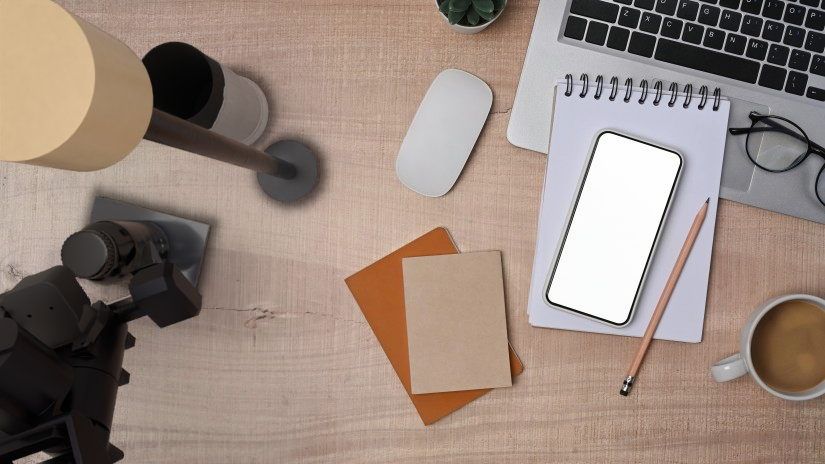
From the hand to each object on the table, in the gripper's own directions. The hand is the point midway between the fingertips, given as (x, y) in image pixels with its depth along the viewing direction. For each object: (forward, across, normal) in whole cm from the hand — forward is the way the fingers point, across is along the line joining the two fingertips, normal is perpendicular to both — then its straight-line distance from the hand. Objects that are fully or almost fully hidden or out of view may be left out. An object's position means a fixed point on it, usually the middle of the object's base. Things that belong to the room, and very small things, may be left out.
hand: (110, 258), depth 63 cm
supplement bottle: (+6, 0, +5) cm, 8 cm away
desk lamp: (+8, -19, +3) cm, 21 cm away
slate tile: (+6, 0, +5) cm, 8 cm away
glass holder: (+15, -12, -4) cm, 20 cm away
